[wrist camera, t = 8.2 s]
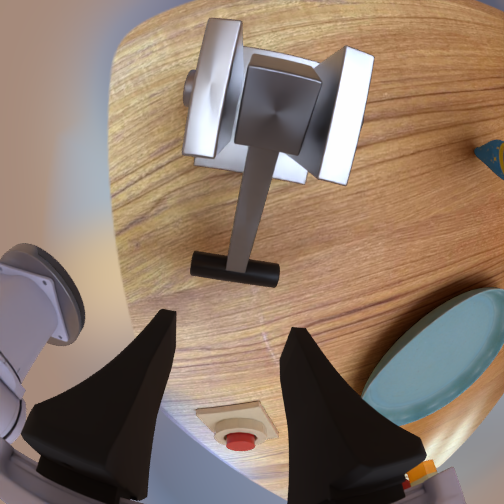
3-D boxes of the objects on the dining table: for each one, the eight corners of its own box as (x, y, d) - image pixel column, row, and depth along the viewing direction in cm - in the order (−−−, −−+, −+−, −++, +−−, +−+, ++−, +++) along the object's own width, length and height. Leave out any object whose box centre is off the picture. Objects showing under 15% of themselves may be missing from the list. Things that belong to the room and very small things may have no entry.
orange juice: (417, 468, 62) (428, 507, 44) (406, 471, 60) (417, 512, 42) (433, 459, 59) (446, 498, 41) (423, 461, 57) (436, 503, 39)
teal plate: (440, 400, 33) (447, 413, 30) (321, 416, 31) (325, 436, 28) (522, 284, 23) (535, 296, 20) (416, 257, 20) (436, 277, 17)
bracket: (302, 181, 17) (357, 245, 9) (195, 163, 17) (143, 209, 8) (326, 68, 14) (407, 26, 5) (217, 46, 13) (189, -28, 5)
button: (221, 432, 28) (221, 442, 27) (249, 429, 28) (250, 440, 26) (232, 442, 30) (231, 452, 28) (258, 439, 29) (258, 449, 28)
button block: (196, 409, 29) (194, 425, 27) (259, 400, 28) (260, 418, 26) (225, 439, 33) (225, 453, 31) (278, 432, 32) (280, 447, 30)
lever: (274, 266, 18) (273, 299, 16) (195, 254, 17) (188, 286, 15) (347, 76, 8) (366, 96, 7) (213, 47, 8) (198, 58, 6)
